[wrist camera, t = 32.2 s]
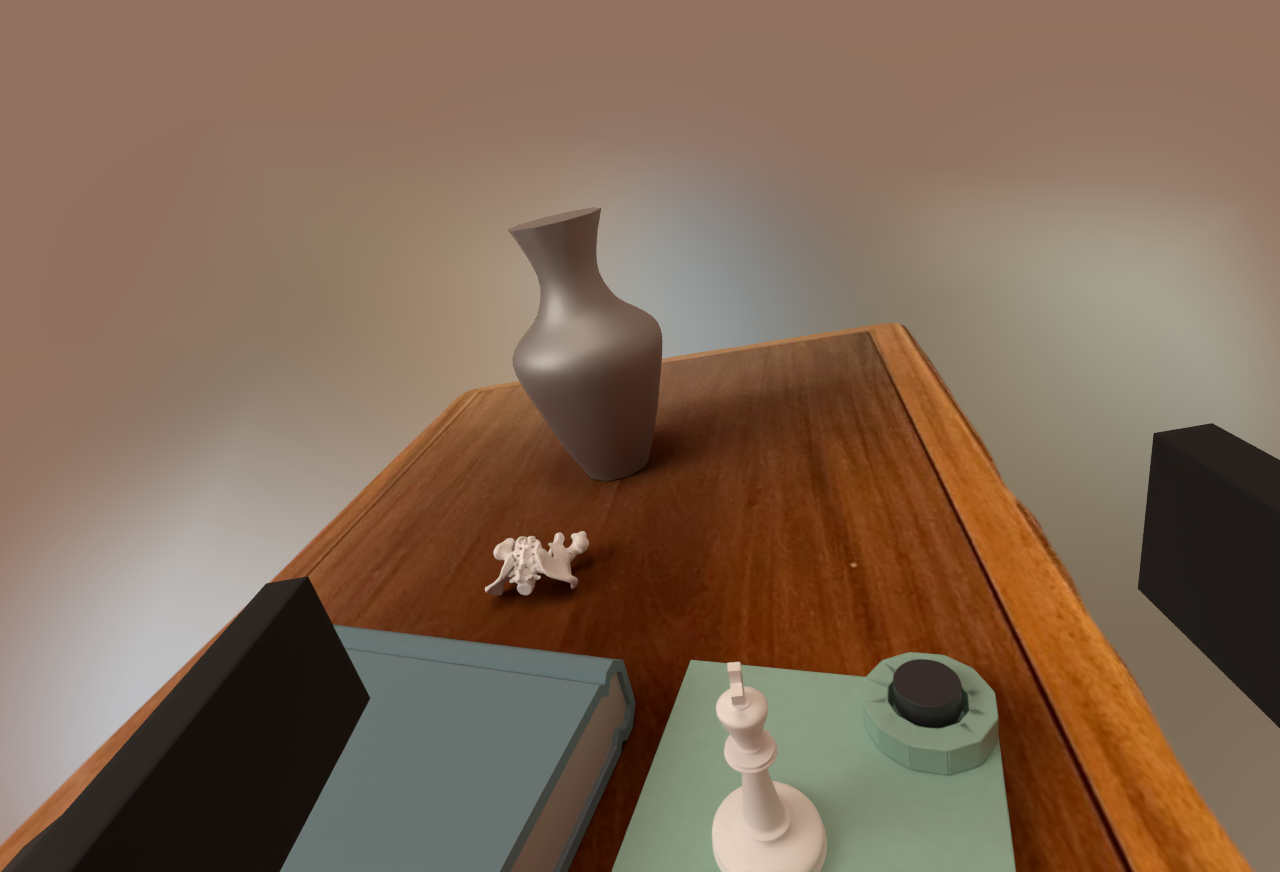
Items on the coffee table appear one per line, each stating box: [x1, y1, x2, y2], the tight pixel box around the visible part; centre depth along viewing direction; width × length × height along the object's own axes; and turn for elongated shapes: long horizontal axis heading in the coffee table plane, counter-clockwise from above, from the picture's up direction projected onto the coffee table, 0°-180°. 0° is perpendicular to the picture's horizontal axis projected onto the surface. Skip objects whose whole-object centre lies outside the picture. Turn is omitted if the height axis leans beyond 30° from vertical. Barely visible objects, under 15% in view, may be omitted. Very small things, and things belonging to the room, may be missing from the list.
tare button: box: [893, 659, 962, 728], centre depth 32 cm, size 3×3×1 cm
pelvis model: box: [485, 531, 589, 596], centre depth 52 cm, size 8×4×7 cm
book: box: [280, 625, 636, 872], centre depth 36 cm, size 23×16×5 cm
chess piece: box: [712, 662, 827, 872], centre depth 27 cm, size 5×5×10 cm
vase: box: [508, 208, 662, 481], centre depth 64 cm, size 14×14×25 cm
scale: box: [612, 652, 1016, 872], centre depth 31 cm, size 16×14×3 cm
